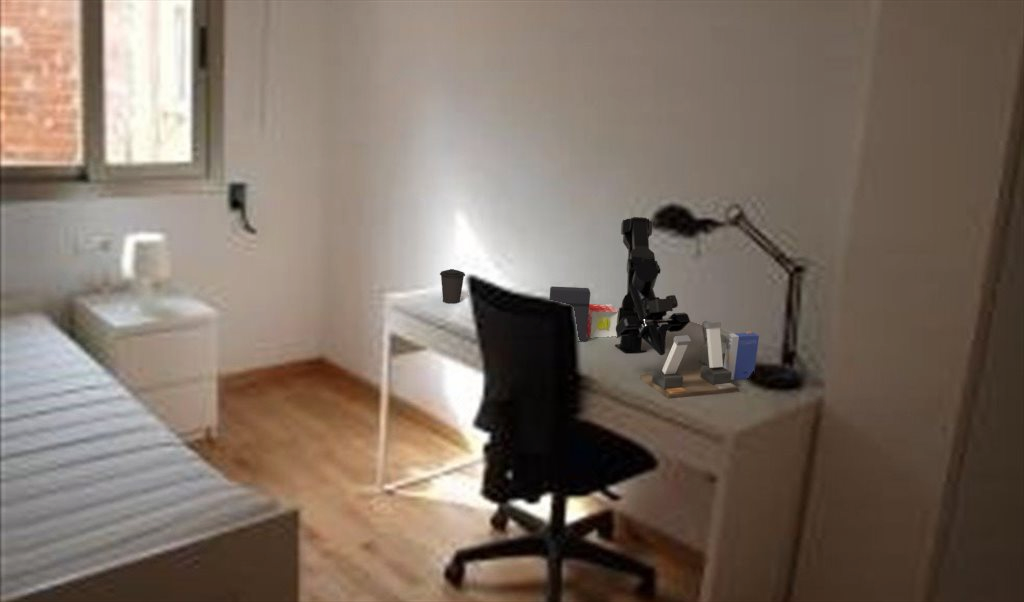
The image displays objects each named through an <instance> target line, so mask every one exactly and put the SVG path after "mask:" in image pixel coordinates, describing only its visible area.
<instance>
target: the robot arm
mask: <svg viewBox="0 0 1024 602" xmlns="http://www.w3.org/2000/svg"><path fill="white" fill-rule="evenodd" d="M653 223H654V222H653V221H651V220H650V219H649V218H647V217H639V216H633V217H630V218H625V219H623V220H622V221H621V224H620V225H621V227H620V235H622V243H623V245H624V246H625V248H626V249H627V261H626V273H627V284H626V288H627V289H626V294H625V295H624V297H623V299H622V301H621V302H622V303H621V305H620V307H619V308H618V310H617V311H618V316H617V326H616V332H617V337H620V343H617V344H615V345H614V346H615V347H616V348H617V349H618V350H620V351H622V352H623V353H625V354H629V353H628V352H633V353H644V352H646V351H647V350H646V349H645V348H643V347H642V344H643V340H644V341H645V342H646V343H647V344H648V345H649V346H650V347H652V349H654V350H655V351H656V353H657V354H658V355H660V356H664V355H665V354H666V336H667V333H668V332H669V333H676V332H682V330H683V329H685V327H686V326H687V325H688V324H690V322H691V319H690V316H689V315H688V313H686V312H673V311H674V310H673V309H676V308H678V306H679V305H678V299H677V297H676V295H675V294H671V295H667V296H666V297H665V298H660V297H659V296H656V294H655V291H654V288H655V285H656V282H657V279H658V276H659V274H661V271H662V268H661V266H660V265H659V263H658V260H656V255H655V252H654V251H653V250H651V249H650V244H649V243H650V240H649V238H650V237H651V236H652V235H653V226H654V225H653ZM667 312H673V313H672V314H671V315H670V316H669V317H668V318H664V317H666V316H667V315H668V313H667Z"/></svg>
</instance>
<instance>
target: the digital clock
mask: <svg viewBox="0 0 1024 602" xmlns="http://www.w3.org/2000/svg"><path fill="white" fill-rule="evenodd" d="M704 323H713V322H712V321H710V320H709V321H708V320H703V322H702V323H701V330H702V335H703V340H704V343H703V344H702V345H701V348H700V354H699V355H700V357H699V361H700V362H701V363H702V364H704V365H705V366H708V365H709V355H708V343H707V332H706V328H705V327H704ZM731 333H734V332H733V331H731V330H729V329H727V328H725V327H722V326H721V327H720V337H721V349H722V360H723V368H724V359H725V351H726V343H727V335H728V334H731Z"/></svg>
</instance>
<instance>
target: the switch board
mask: <svg viewBox="0 0 1024 602" xmlns="http://www.w3.org/2000/svg"><path fill="white" fill-rule="evenodd" d="M662 369H663V368H662ZM662 369H652V370H653V371H652V373H648V374H640V376H639V379H640V380H641V381H643V382H644V383H646V384H647V385H649V386H650V387H651V388H652V389H654V390H656V391H657V392H659V393H660V394H662V395H663V396H664V397H666V398H667V399H674V398H676V399H677V398H685V397H696V396H697V397H698V396H704V395H706V396H707V395H716V394H717V395H718V394H727V393H737V392H738V393H739V391H740V388H739V387H738V386H737V385H735V384H733V383H731V374H732V372H730V371H728V370H727V369H725V368H723V367H714V368H710V367H709V365H701V367H700V369H695V370H684V371H683V370H681V371H676V373H675V374H664V373H663V371H662Z"/></svg>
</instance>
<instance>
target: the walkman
mask: <svg viewBox="0 0 1024 602" xmlns="http://www.w3.org/2000/svg"><path fill="white" fill-rule="evenodd" d="M759 337H760V335H758V334H757V333H755V332H752V331H746V332H737V333H735V332H733V333H731V334H728V335H727V343H726V351H725V359H724V368H725V369H727V370H728V371H730V372H732V374H731V380H748V379H747V378H749V376H750V375H751V373H752V372H753V371H754V372H755V369H756V361H757V353H758V345H759Z"/></svg>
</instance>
